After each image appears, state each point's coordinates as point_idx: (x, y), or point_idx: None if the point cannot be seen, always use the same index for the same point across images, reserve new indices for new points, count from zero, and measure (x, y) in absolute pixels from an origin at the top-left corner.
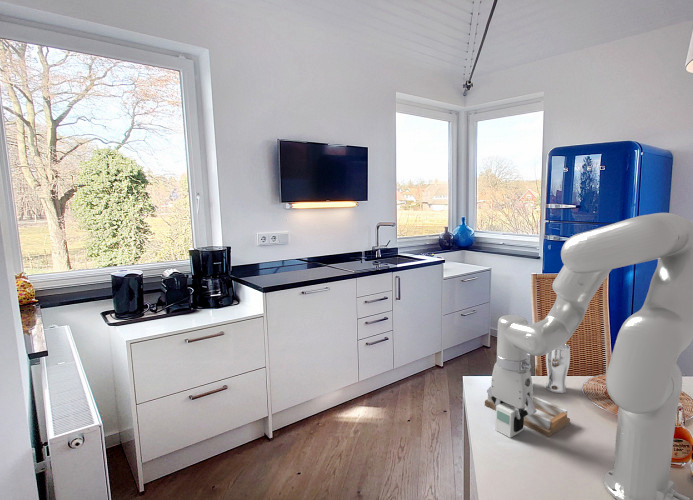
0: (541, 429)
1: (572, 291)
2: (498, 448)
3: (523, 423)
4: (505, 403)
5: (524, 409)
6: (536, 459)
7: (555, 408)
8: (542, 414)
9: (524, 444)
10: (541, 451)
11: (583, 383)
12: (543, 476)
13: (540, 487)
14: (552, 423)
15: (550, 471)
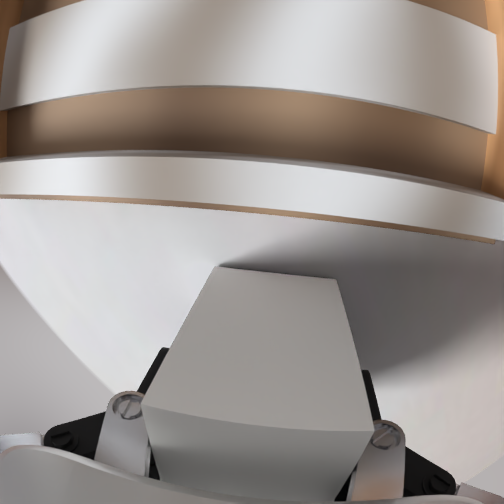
0: (451, 234)
1: None
2: None
3: (373, 389)
4: (185, 479)
5: (398, 486)
6: (447, 419)
7: None
8: (390, 32)
9: (387, 384)
10: (462, 369)
11: None
12: (468, 452)
13: (459, 476)
14: None
15: (488, 425)
